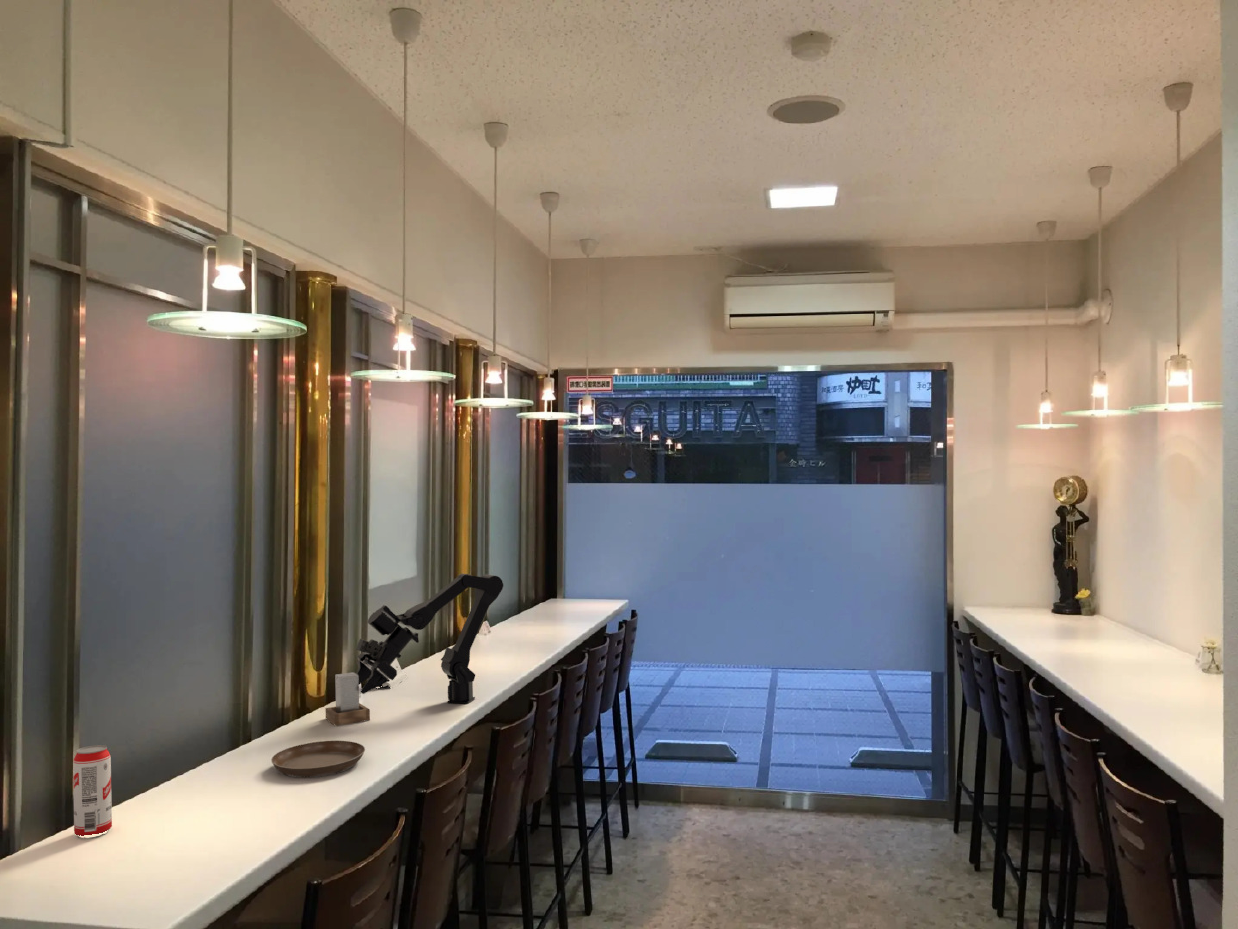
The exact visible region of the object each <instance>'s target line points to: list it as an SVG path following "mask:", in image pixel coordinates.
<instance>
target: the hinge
mask: <svg viewBox="0 0 1238 929" xmlns="http://www.w3.org/2000/svg"><path fill="white" fill-rule="evenodd" d="M391 666H392V667H393V668H394V669H396V670H397V676H396V677H395V678H394V679H393V680H390V679H389V678H388V679H389V680H390V681H389V682H386V683H384V684H382V685H380V686H378V687H381V686H383V687H381V688H384V687H387V686H388V688H389V687H393V686H394V685H395V684H397V683H398V682H399V681H402V680H403V679H405V678H406V677H408V674H407V673H406V672H404V671H403V670H402V668H401V666H400V663H399V661H398V658H396V659H395V660H394V661H393V663H392V664H391Z"/></svg>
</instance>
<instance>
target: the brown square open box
mask: <svg viewBox="0 0 1238 929" xmlns="http://www.w3.org/2000/svg"><path fill="white" fill-rule="evenodd" d="M326 718H327V719H328V720H329V721H330V722H329V721H328V720H327V719H326ZM325 719H326V720H327V721H328V722H329V723H331V724H332V725H334V724H335V725H337V726H341V725H340V724H343V725H348V724H349V725H350V724H354V722H355V723H360V722H359V721H362V722H365V721H364V720H368V721H371V711H370V708H369V707H367V706H366V705H364V704H361V703H360V702H359V710H356V711H350V712H343V713H336V706H330V707H325ZM335 725H334V726H335Z"/></svg>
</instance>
